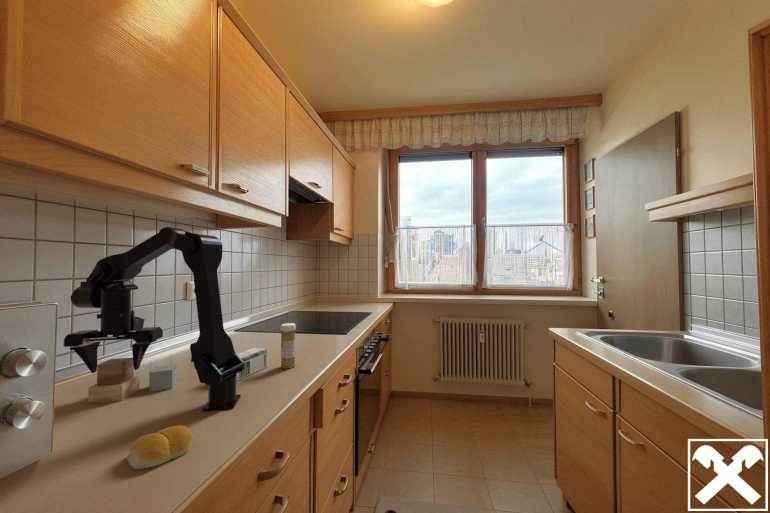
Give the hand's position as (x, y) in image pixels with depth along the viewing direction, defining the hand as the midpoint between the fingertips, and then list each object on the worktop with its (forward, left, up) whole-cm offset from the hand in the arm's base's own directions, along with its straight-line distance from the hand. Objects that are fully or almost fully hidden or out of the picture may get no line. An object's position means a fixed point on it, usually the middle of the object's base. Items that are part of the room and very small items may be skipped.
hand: (115, 370), depth 77 cm
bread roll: (-29, -24, -7) cm, 38 cm away
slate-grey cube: (+4, -9, -6) cm, 12 cm away
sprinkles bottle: (+13, -40, -6) cm, 43 cm away
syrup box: (+16, -31, -3) cm, 35 cm away
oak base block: (0, 0, -6) cm, 6 cm away
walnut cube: (0, 0, -2) cm, 3 cm away
